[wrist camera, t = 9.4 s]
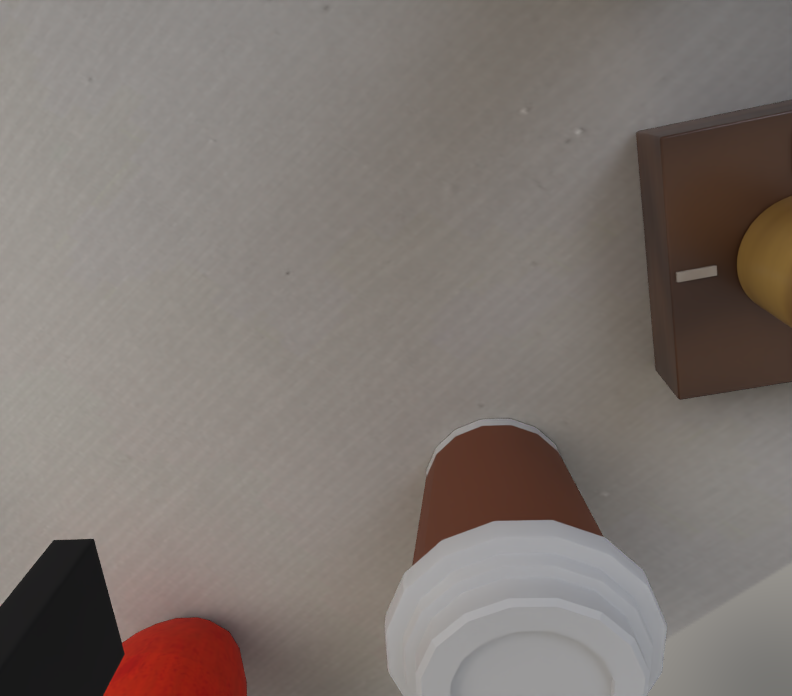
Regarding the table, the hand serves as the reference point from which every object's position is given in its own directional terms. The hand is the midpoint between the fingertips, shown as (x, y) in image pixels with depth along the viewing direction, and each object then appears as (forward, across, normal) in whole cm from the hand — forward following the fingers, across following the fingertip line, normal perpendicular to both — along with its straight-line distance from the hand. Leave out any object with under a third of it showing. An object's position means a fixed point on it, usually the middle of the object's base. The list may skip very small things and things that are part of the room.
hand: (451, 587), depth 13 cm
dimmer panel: (+18, +13, +2) cm, 22 cm away
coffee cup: (+18, +2, -9) cm, 20 cm away
